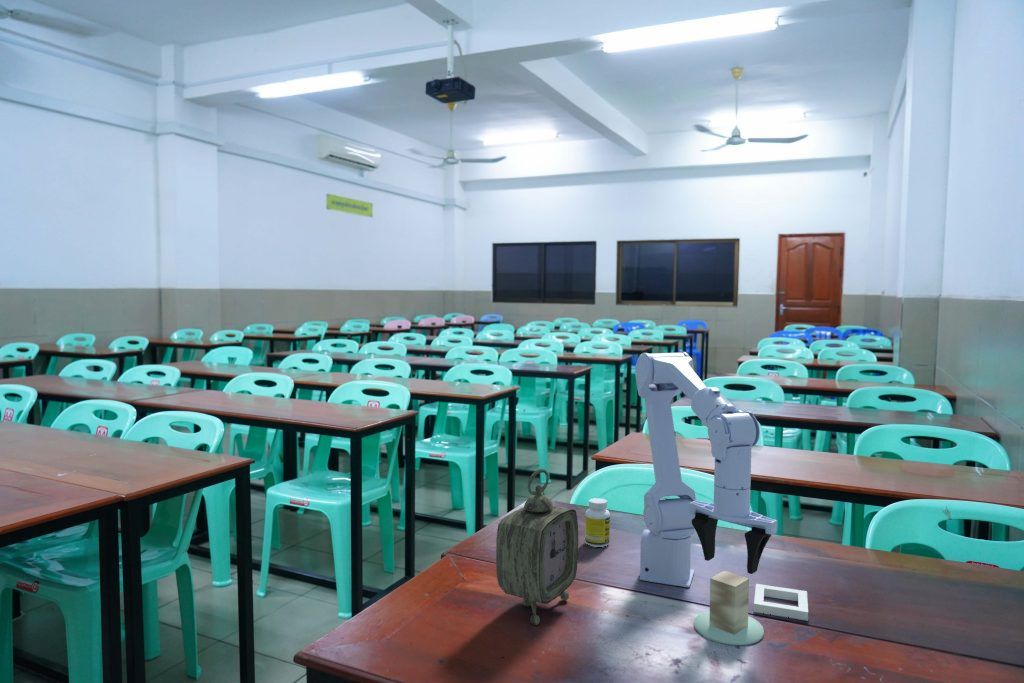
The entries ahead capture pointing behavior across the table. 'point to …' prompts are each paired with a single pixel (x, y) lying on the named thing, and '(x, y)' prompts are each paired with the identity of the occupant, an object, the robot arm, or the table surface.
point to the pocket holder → (781, 609)
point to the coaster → (743, 637)
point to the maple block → (729, 602)
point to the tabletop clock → (537, 550)
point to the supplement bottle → (597, 523)
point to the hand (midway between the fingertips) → (730, 565)
